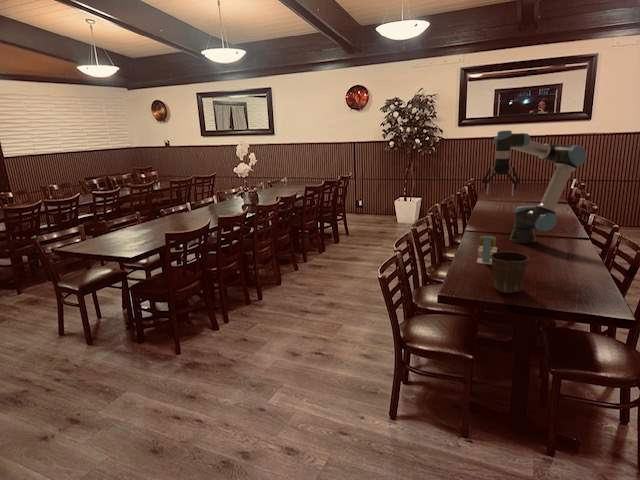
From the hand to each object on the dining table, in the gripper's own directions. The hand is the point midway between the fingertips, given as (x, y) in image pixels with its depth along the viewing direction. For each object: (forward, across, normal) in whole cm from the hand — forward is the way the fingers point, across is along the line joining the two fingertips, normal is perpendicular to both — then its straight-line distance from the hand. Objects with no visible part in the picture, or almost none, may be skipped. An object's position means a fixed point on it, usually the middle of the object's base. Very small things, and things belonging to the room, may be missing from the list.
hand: (499, 194), depth 246 cm
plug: (+34, -4, -22) cm, 41 cm away
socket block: (+35, -4, -10) cm, 36 cm away
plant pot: (+35, +8, -62) cm, 72 cm away
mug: (+35, -4, +3) cm, 35 cm away
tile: (+35, -4, -22) cm, 42 cm away
